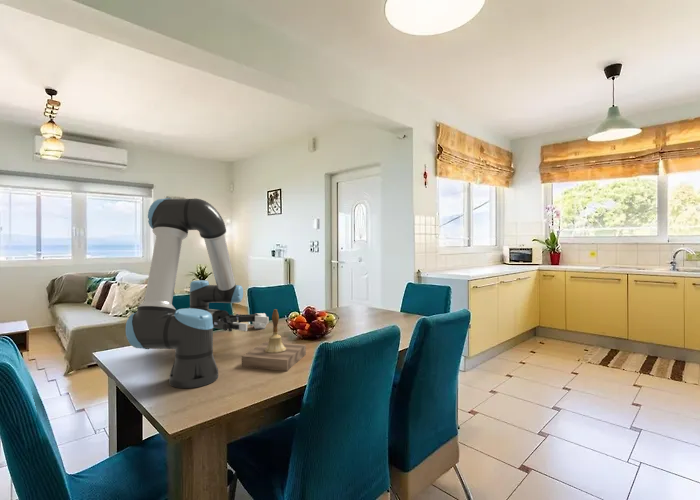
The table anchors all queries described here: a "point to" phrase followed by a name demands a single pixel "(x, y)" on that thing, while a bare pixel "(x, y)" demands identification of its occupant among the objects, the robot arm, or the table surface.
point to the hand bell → (275, 337)
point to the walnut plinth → (274, 357)
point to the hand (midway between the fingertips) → (257, 323)
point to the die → (260, 325)
